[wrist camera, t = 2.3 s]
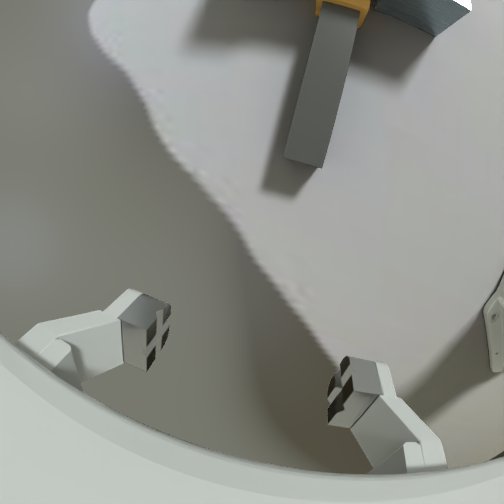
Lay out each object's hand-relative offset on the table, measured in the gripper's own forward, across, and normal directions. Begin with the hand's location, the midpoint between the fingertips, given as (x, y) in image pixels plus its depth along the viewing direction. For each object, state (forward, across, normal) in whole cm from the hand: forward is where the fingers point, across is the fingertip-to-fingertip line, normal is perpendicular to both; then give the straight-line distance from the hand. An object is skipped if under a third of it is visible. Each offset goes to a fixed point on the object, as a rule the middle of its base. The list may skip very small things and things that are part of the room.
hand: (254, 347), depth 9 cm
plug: (+19, 0, -15) cm, 25 cm away
